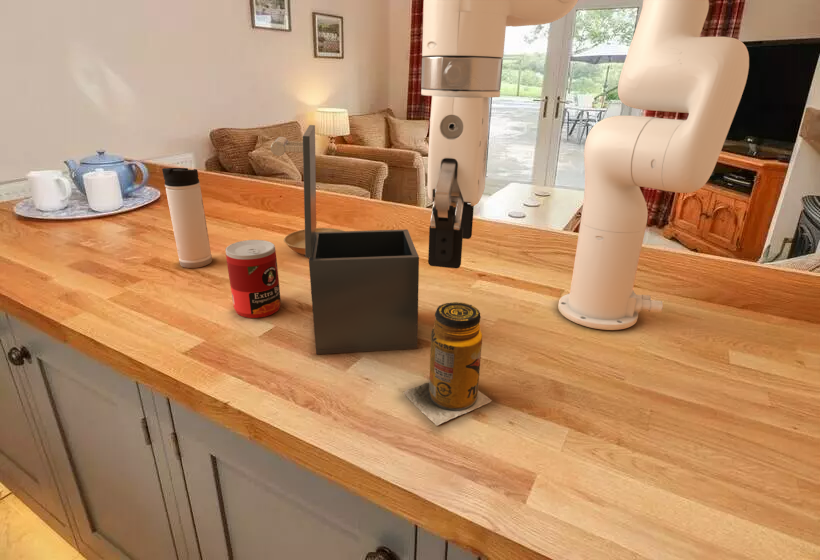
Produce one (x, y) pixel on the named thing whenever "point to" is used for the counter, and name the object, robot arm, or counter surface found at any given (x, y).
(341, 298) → the bin
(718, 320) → the counter surface
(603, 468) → the counter surface
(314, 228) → the lid
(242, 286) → the canned food
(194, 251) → the travel mug
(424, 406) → the condiment
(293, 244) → the plant saucer
